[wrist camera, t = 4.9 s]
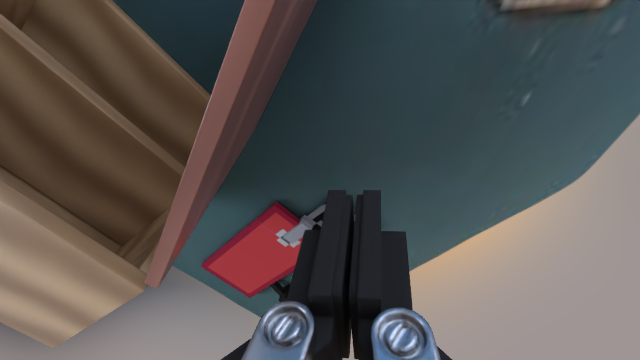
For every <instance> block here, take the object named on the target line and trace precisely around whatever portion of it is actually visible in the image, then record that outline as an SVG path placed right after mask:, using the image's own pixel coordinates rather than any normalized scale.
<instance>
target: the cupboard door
mask: <svg viewBox="0 0 640 360" xmlns="http://www.w3.org/2000/svg"><path fill="white" fill-rule="evenodd" d="M316 2H317V0H245V1H244V4H243V7H242V9H241V12H240V15H239V18H238V21H237V23H236V26H235V29H234V32H233V35H232V38H231V40H230V43H229V46H228V49H227V52H226V54H225V57H224V60H223V63H222V66H221V69H220V71H219V74H218V77H217V80H216V83H215V85H214V88H213V91H212V94H211V97H210V99H209V102H208V105H207V108H206V111H205V114H204V116H203V119H202V122H201V125H200V128H199V130H198V133H197V136H196V139H195V142H194V145H193V147H192V150H191V153H190V156H189V159H188V161H187V164H186V167H185V170H184V173H183V176H182V178H181V181H180V184H179V187H178V190H177V192H176V195H175V198H174V201H173V204H172V207H171V209H170V212H169V215H168V218H167V221H166V223H165V226H164V229H163V232H162V235H161V238H160V240H159V243H158V246H157V249H156V252H155V254H154V257H153V260H152V263H151V266H150V269H149V271H148V274H147V277H146V280H145V284H147V285H150V286H152V287H155V288H158V287H159V286H160V284H161V282H162V280H163V279H164V277H165V276H166V274H167V272H168V271H169V269H170V268H171V266H172V264H173V263H174V261H175V259H176V258H177V256H178V255H179V253H180V251H181V250H182V248H183V246H184V245H185V243H186V242H187V240H188V238H189V237H190V235H191V233H192V232H193V230H194V228H195V227H196V225H197V224H198V222H199V220H200V219H201V217H202V215H203V214H204V212H205V211H206V209H207V207H208V206H209V204H210V202H211V201H212V199H213V197H214V196H215V194H216V193H217V191H218V189H219V188H220V186H221V184H222V183H223V181H224V180H225V178H226V176H227V175H228V173H229V171H230V170H231V168H232V166H233V165H234V163H235V162H236V160H237V158H238V157H239V155H240V153H241V152H242V150H243V149H244V147H245V145H246V144H247V142H248V140H249V139H250V137H251V135H252V134H253V132H254V131H255V129H256V127H257V124H258V122H259V120H260V118H261V116H262V114H263V112H264V110H265V108H266V106H267V104H268V102H269V100H270V98H271V96H272V93H273V91H274V89H275V87H276V85H277V83H278V81H279V79H280V77H281V75H282V73H283V71H284V69H285V67H286V64H287V62H288V60H289V58H290V56H291V54H292V52H293V50H294V48H295V46H296V44H297V42H298V40H299V38H300V35H301V33H302V31H303V29H304V27H305V25H306V23H307V21H308V19H309V17H310V15H311V13H312V11H313V9H314V6H315V4H316Z"/></svg>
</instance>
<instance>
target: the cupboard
mask: <svg viewBox="0 0 640 360" xmlns="http://www.w3.org/2000/svg"><path fill="white" fill-rule="evenodd" d="M210 97H211V95H210V94H209V93H208V92H207V91H206V90H205V89H204V88H203V87H202V86H201V85H200V84H198V83H197V82H196V81H195V80H194V79H193V78H192V77H191V76H190V75H189V74H188V73H187V72H186V71H185V70H184V69H183V68H182V67H181V66H180V65H179V64H178V63H177V62H176V61H175V60H174V59H173V58H172V57H171V56H169V55H168V54H167V53H166V52H165V51H164V50H163V49H162V48H161V47H160V46H159V45H158V44H157V43H156V42H155V41H154V40H153V39H152V38H151V37H150V36H149V35H148V34H147V33H146V32H145V31H144V30H143V29H142V28H140V27H139V26H138V25H137V24H136V23H135V22H134V21H133V20H132V19H131V18H130V17H129V16H128V15H127V14H126V13H125V12H124V11H123V10H122V9H121V8H120V7H119V6H118V5H117V4H116V3H115V2H114V1H113V0H0V322H1V323H3V324H5V325H7V326H9V327H11V328H13V329H15V330H17V331H19V332H21V333H23V334H25V335H27V336H29V337H31V338H33V339H35V340H37V341H39V342H41V343H43V344H46V345H47V346H49V347H52V348H55V347H56V346H58V345H59V344H61V343H62V342H64V341H66V340H67V339H69V338H71V337H72V336H74V335H75V334H77V333H78V332H80V331H81V330H83V329H85V328H86V327H88V326H89V325H91V324H93V323H94V322H96V321H97V320H99V319H100V318H102V317H104V316H105V315H107V314H108V313H110V312H112V311H113V310H115V309H116V308H118V307H120V306H121V305H123V304H124V303H126V302H127V301H129V300H131V299H132V298H134V297H135V296H137V295H139V294H140V293H142V292H143V291H144V290H145V289H146V288H147V286H148V285H147V284H145V280H146V277H147V274H148V271H149V269H150V266H151V263H152V260H153V257H154V254H155V252H156V249H157V246H158V243H159V240H160V238H161V235H162V232H163V229H164V226H165V223H166V221H167V218H168V215H169V212H170V209H171V207H172V204H173V201H174V198H175V195H176V192H177V190H178V187H179V184H180V181H181V178H182V176H183V173H184V170H185V167H186V164H187V161H188V159H189V156H190V153H191V150H192V147H193V145H194V142H195V139H196V136H197V133H198V130H199V128H200V125H201V122H202V119H203V116H204V114H205V111H206V108H207V105H208V102H209V99H210Z"/></svg>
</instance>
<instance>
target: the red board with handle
mask: <svg viewBox="0 0 640 360" xmlns="http://www.w3.org/2000/svg"><path fill="white" fill-rule="evenodd" d="M325 206H326V203H325V204H323V205H322V206H321V207H319V208H318V209H316V210H315V211H314V212H312V213H311V214H310V215H308V216H306V215H304V216H302V217H301V218H300V219H299V218H297V217H296V216H295V215H293V214H292V213H291V212H289V211H288V210H287V209H286V208H284V207H283V206H282V205H280V204H279V203H278V202H277V201H276V202H275V203H274V204H273V205H272V206H270V207H269V208H268V209H267V210H266V211H264V212H263V213H262V214H261V215H260V216H258V217H257V218H256V219H255V220H254V221H252V222H251V223H250V224H249V225H248V226H246V227H245V228H244V229H243V230H241V231H240V232H239V233H238V234H237V235H235V236H234V237H233V238H232V239H231V240H229V241H228V242H227V243H226V244H225V245H223V246H222V247H221V248H220V249H219V250H217V251H216V252H215V253H214V254H213V255H211V256H210V257H209V258H208V259H207V260H205V261H204V262H203V263H202V265H201V267H202V268H204V269H205V270H207V271H209V272H210V273H212V274H213V275H215V276H216V277H218V278H220V279H221V280H223V281H224V282H226V283H227V284H229V285H231V286H232V287H234V288H235V289H237V290H238V291H240V292H242V293H243V294H245V295H246V296H248V297H249V298H251V297H252V296H254V295H255V294H257V293H259V292H260V291H262V290H264V289H265V288H267V287H268V286H271V287H272V288H273V289H274V290H275V291H276V292H277V293H278V294H279V295H280V298H279V301H280V302H285V301H287V297H288V293H289V289H290V285H289V284H288V285H286V286H285V287H282V286H281V285H280V284H279V283H278V282H277V281H278V280H280V279H281V278H283V277H284V276H286V275H288V274H289V273H291V272H293V271H294V269H295V265H296V262H297V258H298V254H299V250H300V246H301V242H302V238H303V234H304V231H305V230H313V229H312V227H315V228H316V229H317V230H321V226H322V221H323V216H324V211H325ZM354 225H355V214H354Z"/></svg>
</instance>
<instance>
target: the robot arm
mask: <svg viewBox="0 0 640 360" xmlns="http://www.w3.org/2000/svg"><path fill="white" fill-rule="evenodd" d="M351 328H352V338H353V348H354V358H355V359H359V360H452V359H451V358H450V357H449V356H447V355H446V354H445V353H444V352H443V351H442V350H441V349H440V348H439V347H437V345H436V342H435V339H434V335H433V332H432V330H431V328H430V326H429V324H428V322H427V321H426V320H425V319H424V318H423V317H422V316H421V315H419V314H418V313H416V312H415V311H413V310H412V298H411V287H410V275H409V264H408V252H407V241H406V233H405V232H398V231H381V190H364V194H363V195H357V202H356V213H355V225H354V211H353V197H352V195H346V190H329V192H328V196H327V201H326V206H325V211H324V216H323V221H322V226H321V230H305V231H304V234H303V238H302V242H301V246H300V250H299V254H298V258H297V262H296V265H295V269H294V273H293V277H292V281H291V285H290V289H289V293H288V297H287V301H285V302H280V303H278V304H276V305H274V306H272V307H271V308H269V309H268V310H267V311H266V312H265V313H264V315H263V316H262V318H261V319H260V321H259V323H258V325H257V327H256V329H255V332H254V334H253V336H252V338H251V339H250V340H248V341H247V342H245V343H244V344H243V345H241V346H240V347H238V348H237V349H235V350H234V351H233V352H231V353H230V354H228V355H227V356H225V357H224V358H223V359H221V360H342V358H349V354H350V339H351Z"/></svg>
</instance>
